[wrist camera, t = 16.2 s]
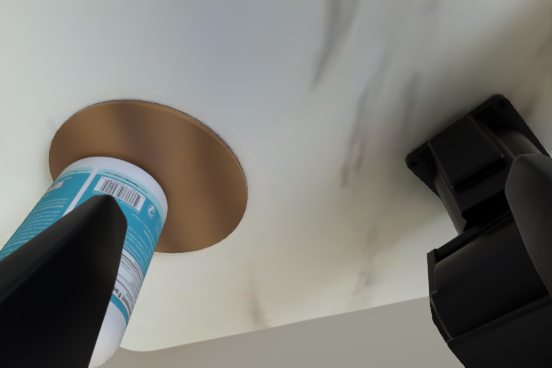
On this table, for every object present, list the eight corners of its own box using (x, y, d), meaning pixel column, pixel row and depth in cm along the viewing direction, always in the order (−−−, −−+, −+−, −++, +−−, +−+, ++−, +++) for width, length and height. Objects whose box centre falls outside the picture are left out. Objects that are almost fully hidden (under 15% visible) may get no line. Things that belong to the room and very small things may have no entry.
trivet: (221, 86, 20) (220, 90, 20) (262, 242, 29) (262, 247, 29) (9, 113, 22) (4, 117, 22) (106, 253, 31) (104, 258, 30)
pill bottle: (80, 225, 28) (-46, 428, 17) (48, 146, 23) (-152, 360, 13) (176, 233, 28) (108, 438, 18) (165, 155, 23) (61, 374, 13)
